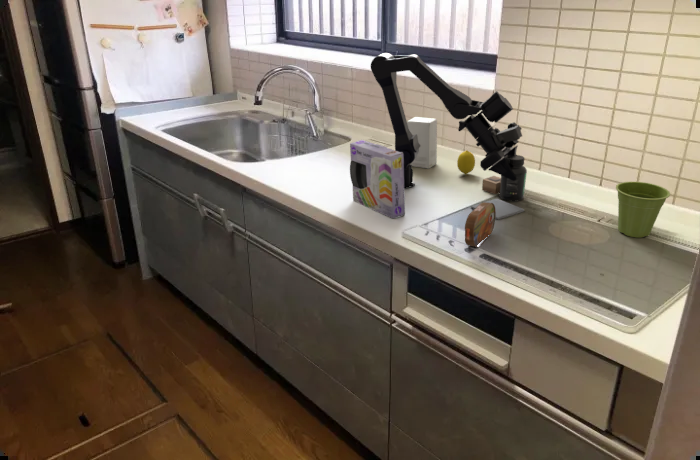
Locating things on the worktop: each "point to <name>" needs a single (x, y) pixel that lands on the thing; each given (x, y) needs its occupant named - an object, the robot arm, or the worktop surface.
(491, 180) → the wooden letter block
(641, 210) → the plant pot
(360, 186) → the cake pan box
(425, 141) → the skincare box
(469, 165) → the lemon
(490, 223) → the tin
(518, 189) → the supplement bottle
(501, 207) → the slate mat
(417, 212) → the worktop surface
